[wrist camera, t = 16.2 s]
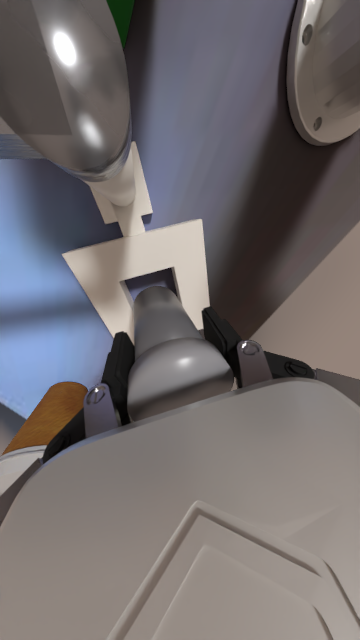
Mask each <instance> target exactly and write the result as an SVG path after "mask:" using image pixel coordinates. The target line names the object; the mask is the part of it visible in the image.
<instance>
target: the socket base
mask: <svg viewBox="0 0 360 640" xmlns="http://www.w3.org/2000/svg"><path fill="white" fill-rule="evenodd" d="M83 181H84V180H83ZM84 182H85V183H87V184H88V185H89V186H90V188H91V191H92V193H93V196H94V198H95V200H96V203H97V205H98V208H99V210H100V212H101V215H102V217H103V220H104V222H105V224H109V223H113V222H118V223H119V225H120V228H121V231H122V234H123V236H124V237H122V238H118V239H114V240H109V241H105V242H101V243H97V244H93V245H89V246H85V247H81V248H77V249H73V250H71V251H68V252H66V253H63V254H62V256H63V257H64V259H65V260H66V262H67V264H68V265H69V267H70V268H71V270H72V272H73V273H74V275H75V276H76V278H77V280H78V281H79V283H80V284H81V286H82V288H83V289H84V291H85V293H86V294H87V296H88V297H89V299H90V301H91V302H92V304H93V305H94V307H95V309H96V310H97V312H98V313H99V315H100V317H101V318H102V320H103V321H104V323H105V325H106V326H107V328H108V329H109V331H110V333H111V334H112V336H113V338H114V336H115V333H118V332H121V331H124V333H125V332H127V334H128V336H129V337H130V339H131V341H132V343H133V345H134V317H133V304H134V302H133V299H132V297H131V295H130V293H129V290H128V288H127V286H126V283H125V281H124V280H126V279H130V278H133V277H137V276H141V275H144V274H148V273H152V272H156V271H159V270H163V269H167V268H170V267H171V269H172V274H173V278H174V282H175V287H176V291H177V295H178V300H179V301H180V303H181V305H182V306H183V308H184V309H185V311H186V312H187V314H188V316H189V317H190V319H191V320H192V322H193V323H194V325H195V327H196V328H197V330H200V329H203V320H202V312H201V311H202V310H203V308H206V307H209V306H210V303H209V292H208V281H207V270H206V259H205V248H204V238H203V227H202V219H196V220H190V221H186V222H182V223H178V224H174V225H170V226H166V227H162V228H158V229H154V230H150V231H146V232H145V229H144V225H143V222H142V218H141V216H143V215H147V214H151V213H153V211H152V207H151V203H150V199H149V195H148V191H147V187H146V183H145V179H144V175H143V170H142V166H141V162H140V158H139V154H138V150H137V146H136V142H135V141H134V142H131V148H130V152H129V156H128V159H127V161H126V163H125V165H124V167H123V168H122V170H121V171H120V172H119V173H118V174H117V175H116V176H114V177H113V178H111V179H109V180H107V181H103V182H89V181H84Z"/></svg>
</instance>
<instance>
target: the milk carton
mask: <svg viewBox="0 0 360 640" xmlns="http://www.w3.org/2000/svg"><path fill="white" fill-rule="evenodd" d="M106 2H107V4H108V6H109V9H110V11H111V14H112V16H113V19H114V22H115V25H116V28H117V31H118V34H119V37H120V41H121V45H122V47H123V48H125V43H126V39H127V34H128V30H129V25H130V20H131V16H132V11H133V7H134V2H135V0H106Z"/></svg>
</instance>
